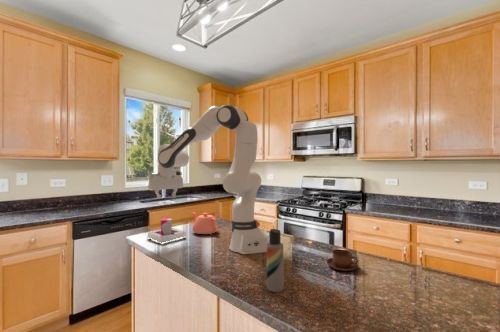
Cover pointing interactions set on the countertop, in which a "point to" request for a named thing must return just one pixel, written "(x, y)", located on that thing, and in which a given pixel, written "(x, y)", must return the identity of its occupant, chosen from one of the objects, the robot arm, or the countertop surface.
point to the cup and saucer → (342, 260)
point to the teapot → (204, 224)
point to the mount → (163, 238)
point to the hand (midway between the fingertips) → (166, 197)
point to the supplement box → (166, 226)
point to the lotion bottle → (275, 262)
